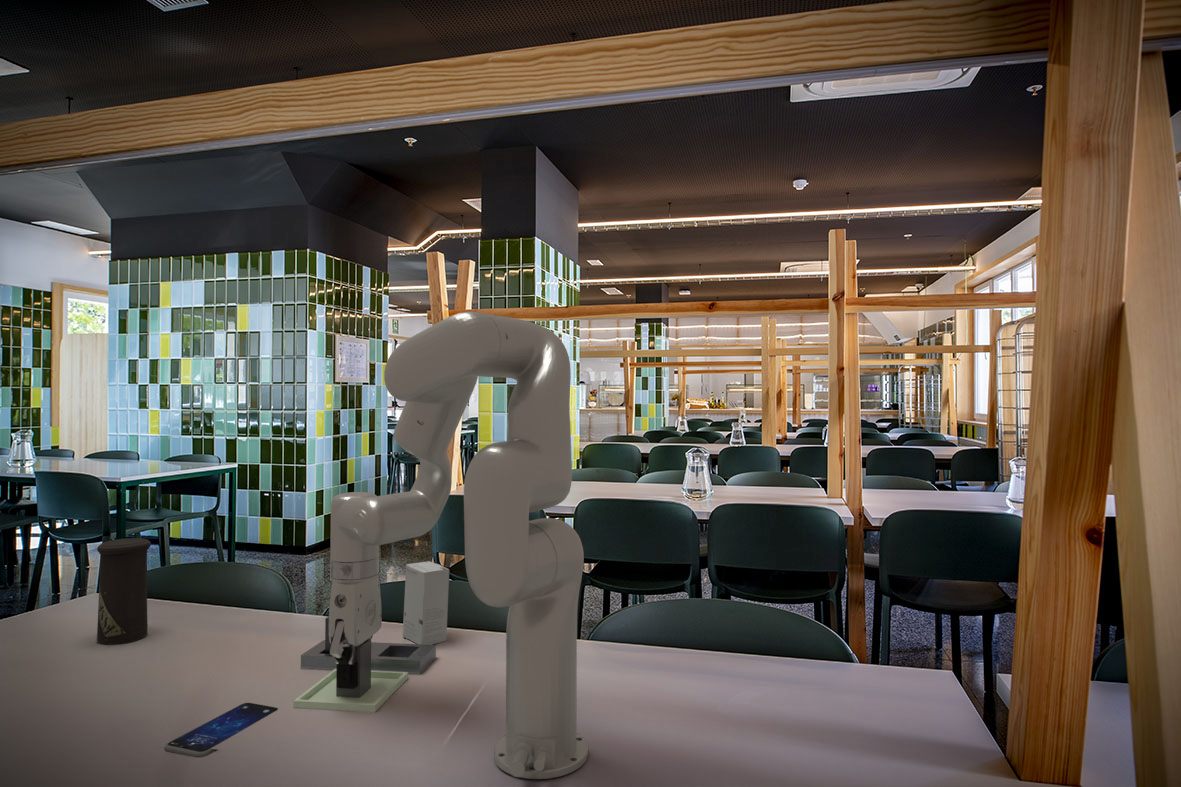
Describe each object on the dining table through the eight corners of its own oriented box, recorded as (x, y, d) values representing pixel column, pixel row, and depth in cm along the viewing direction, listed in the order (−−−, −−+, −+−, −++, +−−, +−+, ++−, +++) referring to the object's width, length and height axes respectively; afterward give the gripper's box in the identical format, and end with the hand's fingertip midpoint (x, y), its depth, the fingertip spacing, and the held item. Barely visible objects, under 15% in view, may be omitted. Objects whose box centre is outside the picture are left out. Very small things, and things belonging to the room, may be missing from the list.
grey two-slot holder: (420, 677, 119) (420, 608, 119) (300, 671, 122) (301, 604, 122) (435, 660, 127) (436, 596, 127) (323, 655, 130) (323, 592, 130)
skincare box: (402, 637, 140) (402, 564, 140) (428, 631, 144) (429, 559, 144) (422, 648, 134) (423, 571, 134) (449, 641, 138) (450, 566, 138)
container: (101, 634, 141) (102, 537, 141) (152, 629, 145) (153, 533, 145) (90, 648, 133) (92, 544, 134) (145, 641, 137) (147, 541, 137)
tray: (375, 715, 104) (375, 705, 104) (293, 710, 106) (293, 700, 106) (408, 681, 117) (408, 672, 117) (334, 677, 119) (335, 668, 119)
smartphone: (284, 707, 106) (202, 754, 92) (283, 714, 106) (202, 761, 92) (245, 700, 108) (160, 745, 94) (245, 707, 108) (160, 752, 94)
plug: (359, 697, 109) (360, 628, 110) (336, 696, 110) (336, 627, 110) (370, 687, 113) (371, 620, 114) (347, 686, 114) (348, 619, 114)
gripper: (353, 582, 103) (352, 705, 103) (397, 558, 120) (396, 664, 120) (306, 581, 104) (304, 702, 104) (356, 557, 121) (355, 662, 120)
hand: (353, 680), depth 112 cm, fingers closed on plug, 4 cm apart
